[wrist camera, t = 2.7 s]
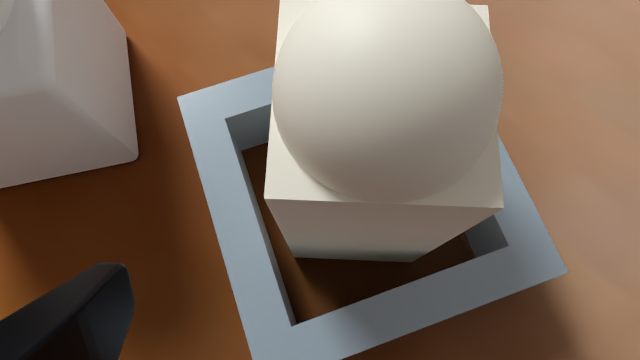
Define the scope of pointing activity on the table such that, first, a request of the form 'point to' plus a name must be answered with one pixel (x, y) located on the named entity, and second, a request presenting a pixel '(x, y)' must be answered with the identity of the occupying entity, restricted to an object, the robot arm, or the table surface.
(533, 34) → the table surface
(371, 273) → the table surface
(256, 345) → the blue square ring
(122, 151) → the medicine bottle
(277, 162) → the cream egg block
